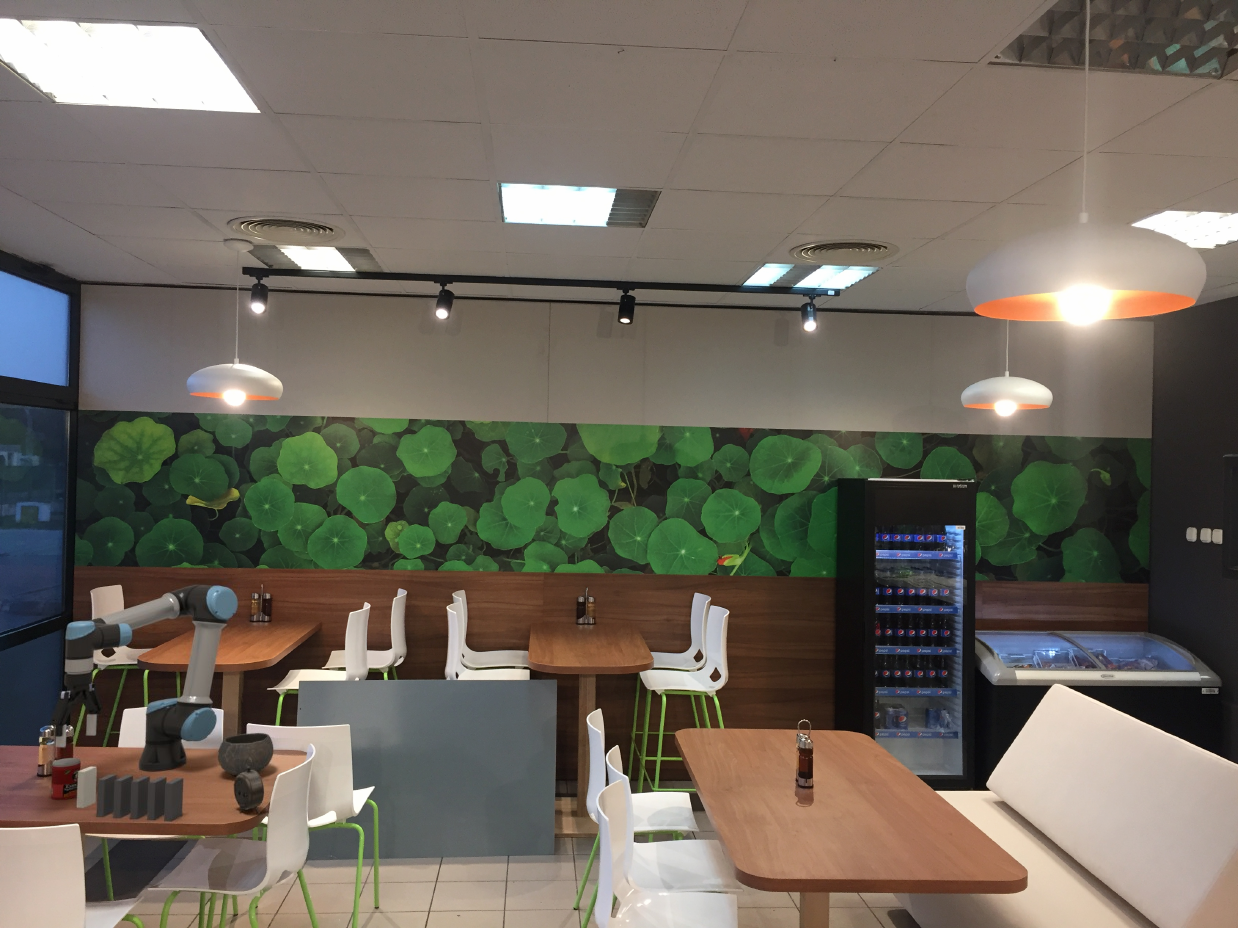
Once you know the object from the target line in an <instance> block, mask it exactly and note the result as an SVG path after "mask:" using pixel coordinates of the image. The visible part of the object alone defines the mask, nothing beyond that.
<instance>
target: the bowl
mask: <svg viewBox="0 0 1238 928" xmlns="http://www.w3.org/2000/svg"><path fill="white" fill-rule="evenodd" d="M274 750H275V749H274V743H273V741H272V737H271V736H270V735H269V734H268V733H265V732H264V733H263V732H252V733H242V734H236V735H230V736H227V737H226V738H224V739H223V740H222V742H221V743H220V745H219V749H218V753H217V760H218V763H219V765H220V766H219V767H220V768H222V770H223V771H224V772H226V773H227V774H230V775H232V776H235V777H237V776H238V775H239V774H240V773H243V772H246V771H247V767H251V761H250V759H247V758H251V760H252V767H251V768H250V770H255V771H257V772H258V773H259V772H262V771H263V770H264V769H265V768H266V767H267V766H268V765H269V764H270V763H271V761H272V758H273V756H274ZM246 759H247V762H246ZM246 764H247V767H246Z"/></svg>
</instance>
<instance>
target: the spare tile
mask: <svg viewBox="0 0 1238 928" xmlns="http://www.w3.org/2000/svg"><path fill="white" fill-rule="evenodd" d="M97 770H98V767H97V766H89V767H88V766H87V767H86V768H83V769H80V771H78V787H77V796H76V809H84V808H86V807H89V806H91V805H93V804H96V803H97V799H96V798H97V775H98V773H97V772H98V771H97Z"/></svg>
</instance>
